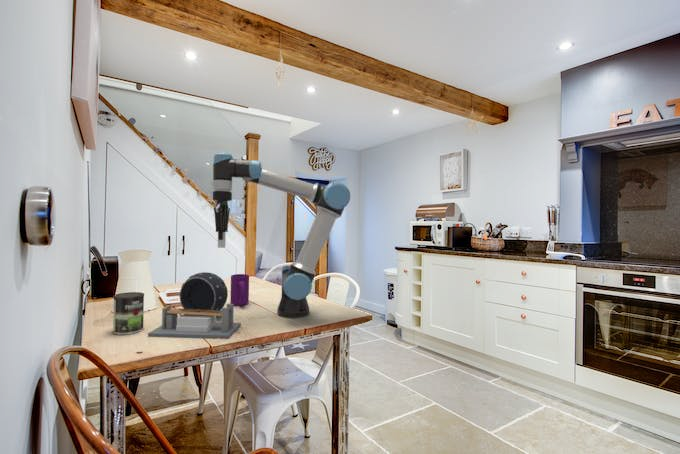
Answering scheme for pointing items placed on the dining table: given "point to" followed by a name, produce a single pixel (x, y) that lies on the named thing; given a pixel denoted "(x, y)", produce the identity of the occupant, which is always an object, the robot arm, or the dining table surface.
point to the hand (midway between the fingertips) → (221, 247)
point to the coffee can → (128, 313)
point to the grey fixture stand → (196, 325)
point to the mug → (239, 289)
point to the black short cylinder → (203, 292)
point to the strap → (195, 311)
